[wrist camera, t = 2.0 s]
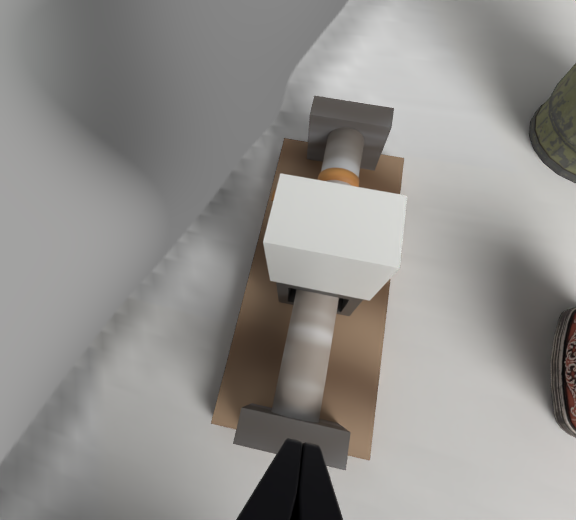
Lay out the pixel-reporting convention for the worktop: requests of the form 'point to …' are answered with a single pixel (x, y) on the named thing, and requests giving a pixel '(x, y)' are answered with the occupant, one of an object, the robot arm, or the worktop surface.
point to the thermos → (557, 128)
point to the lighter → (564, 372)
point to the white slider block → (333, 240)
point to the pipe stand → (312, 313)
